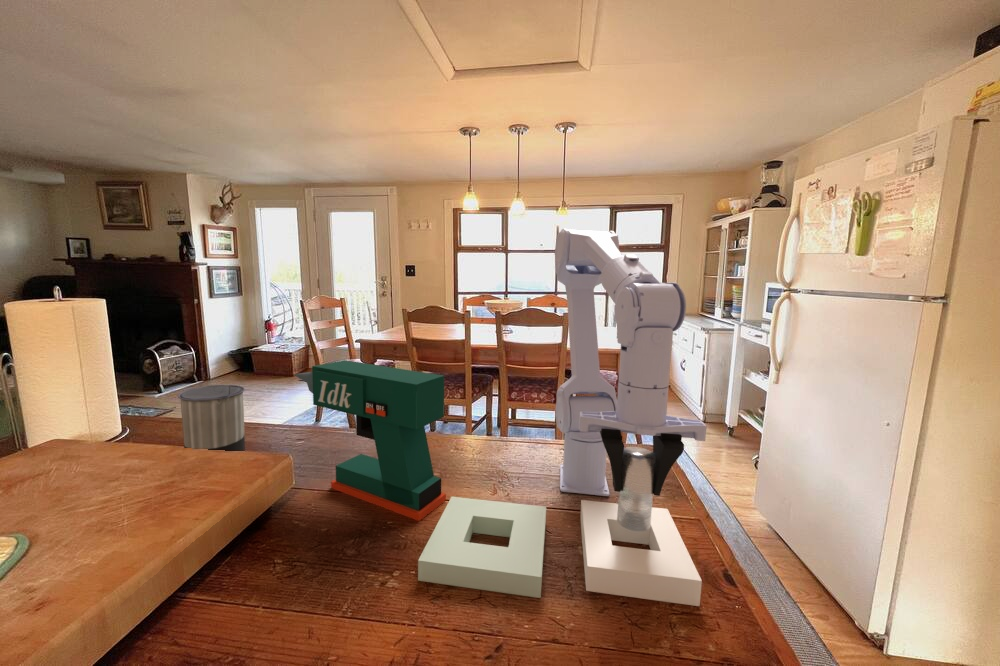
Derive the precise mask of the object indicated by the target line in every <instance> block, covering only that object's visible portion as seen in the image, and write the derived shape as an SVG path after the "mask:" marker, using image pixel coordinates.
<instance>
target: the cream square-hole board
mask: <svg viewBox="0 0 1000 666" xmlns="http://www.w3.org/2000/svg"><path fill="white" fill-rule="evenodd" d="M617 511H618V503H615V502H606V501H597V500H587V499H586V500H585V499H581V501H580V518H579V519H580V529H581V530H580V531H581V543H582V545H581V546H582V554H583V555H582V556H583V567H584V570H583V571H584V582H585V591H586V592H591V593H592V592H593V593H598V594H599V593H600V594H607V595H608V594H609V595H614V596H621V597H622V596H623V597H630V598H637V599H644V600H650V601H656V602H657V601H658V602H663V603H671V604H672V603H673V604H681V605H687V606H694V607H695V606H696V607H700V605H701V596H702V595H701V594H702V584H703V581H702V578H701V576H700V574H699V572H698V569H697V568H696V566H695V563H694V562H693V560H692V557H691V554H690V553H689V551H688V549H687V546H686V545H685V543H684V540H683V538H682V536H681V534H680V532H679V530H678V528H677V525H676V523H675V522H674V519H673V517H672V516H671V514H670V511H669V509H668V508H661V507H653V506H652V513H651V526H650V528H649V529H648V530H646V531H641V532H638V531H632V530H629V529H626V528H624V527H623V526H621V525H620V524H619V523H618V521H617ZM612 541H613V542H615V541H616V542H621V543H622V542H624V543H631V544H640V545H641V544H642V545H647V546H649V548H650V549H645V548H643V549H642V548H637V547H636V548H635V547H627V546H620V545H613V543H612Z"/></svg>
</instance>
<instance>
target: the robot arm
mask: <svg viewBox="0 0 1000 666" xmlns="http://www.w3.org/2000/svg"><path fill="white" fill-rule="evenodd" d="M639 260H640V259H639V257H638V256H637V255H636V254H624V255H623V253H622V252H621V251H620V241H619V235H618V234H616V232H615V231H614V230H607V231H606V230H605V231H603V230H584V229H583V230H582V229H581V230H580V229H579V230H578V229H568V228H562V229H561V230H560V231H558V234H557V235H556V238H555V247H554V262H555V266H554V268H555V275H556V280H557V282H559V283H561V284H562V285H564V287H565V293H566V301H567V303H566V305H567V321H568V335H569V336H568V337H569V350H570V351H569V353H570V371H571V376H570V378H569V379H567V380H566V381H565V382H564V383H562V384H561V385H560V386H559V387H558V389H557V391H556V402H555V411H554V412H555V413H554V415H555V422H556V427H557V428H558V430H559V431H560V432H561V433H562V434H564V438H563V439H564V441H563V457H562V459H563V461H562V462H563V463H562V464H560V465H559V491H561V492H563V493H573V494H574V493H575V494H581V495H582V494H583V495H591V496H592V495H593V496H594V495H595V496H600V497H601V496H602V497H610V490H609V485H608V482H607V476H606V469H607V457H608V459H609V463H610V468H611V475H612V478H611V479H612V486H613V490H614V492H617V493H619V492H621V466H622V457H623V451H624V448H625V444H624V442H623V435H622V433H623V434H634V435H640V436H651V437H652V452H653V453H654V454H655V455H656V461H655V474H654V487H653V496H658V497H659V496H661V492H662V489H663V486H664V485H665V484H664V483H665V481H666V479H667V477H668V474H669V473H670V470H671V469H672V468H673V465H674V464H675V463H676V462H677V460H678V459H679V458H680V456H682V454H683V452H684V449H685V444H684V442H683V441H682V438H683V439H694V440H695V441H698V442H699V441H700V442H706V436H707V425H706V424H705V423H704V422H703V421H702V420H700V419H692V418H685V417H678V416H671V415H667V411H668V400H669V387H670V386H669V385H670V373H671V361H672V360H671V359H672V349H673V348H672V347H673V335H674V332H676V331H677V330H679V328H681V327H682V325H683V323H684V321H685V318H686V314H687V301H686V300H687V299H686V296H685V293H684V290H683V289H682V288H681V286H680V284H679V283H678V282H673V281H672V282H671V281H670V282H669V281H668V282H660V281H659V280H658V279H657V278H656V277H655V276H654V275H653V273H652V272H651V271H649V270H648V268H646V267H645V266H644V265H643V264H642V263H641V262H640V261H639ZM599 285H602V287H603V289H604V290H605V291H606V293H607V294H608V296H609V297H610V299H611V300H612V302H613V303H614V306H613V307H614V319H615V324H616V339H617V343H618V344H620V353H619V367H618V368H619V369H618V383H617V385H618V386H617V393H616V388H615V386H613V384H611V383H610V382H608V381H607V380H606V379H605V378H603V377H602V376H601V367H600V358H599V357H600V356H599V343H598V330H597V318H596V317H597V316H596V304H595V291H594V290H595V288H596V287H597V286H599ZM575 395H576V396H575Z"/></svg>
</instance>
